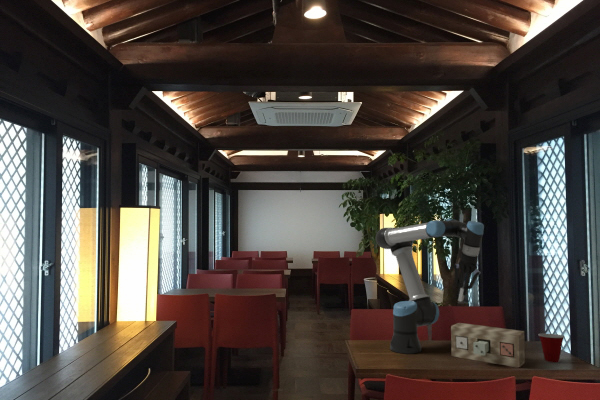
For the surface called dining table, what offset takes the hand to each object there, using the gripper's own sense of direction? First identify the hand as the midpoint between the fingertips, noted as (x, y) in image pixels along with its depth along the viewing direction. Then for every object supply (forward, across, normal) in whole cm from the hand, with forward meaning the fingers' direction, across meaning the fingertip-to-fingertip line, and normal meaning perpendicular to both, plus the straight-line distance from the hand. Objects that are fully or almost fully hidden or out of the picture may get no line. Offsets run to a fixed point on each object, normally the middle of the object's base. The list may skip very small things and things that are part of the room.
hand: (460, 300), depth 225 cm
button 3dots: (+15, +26, -2) cm, 30 cm away
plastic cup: (+19, +41, +16) cm, 48 cm away
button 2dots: (+17, +17, -9) cm, 25 cm away
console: (+22, +18, -1) cm, 29 cm away
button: (+20, +7, -3) cm, 22 cm away
